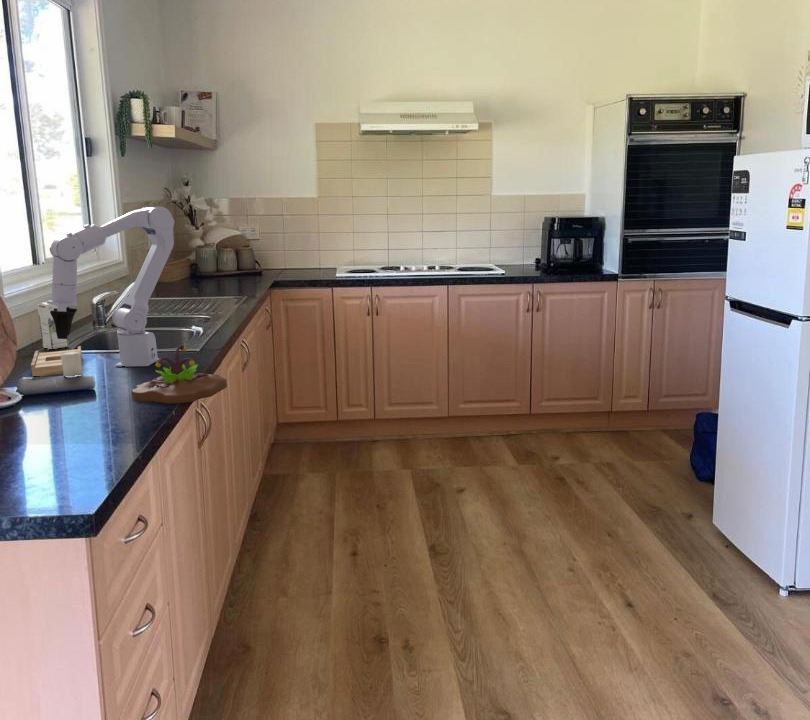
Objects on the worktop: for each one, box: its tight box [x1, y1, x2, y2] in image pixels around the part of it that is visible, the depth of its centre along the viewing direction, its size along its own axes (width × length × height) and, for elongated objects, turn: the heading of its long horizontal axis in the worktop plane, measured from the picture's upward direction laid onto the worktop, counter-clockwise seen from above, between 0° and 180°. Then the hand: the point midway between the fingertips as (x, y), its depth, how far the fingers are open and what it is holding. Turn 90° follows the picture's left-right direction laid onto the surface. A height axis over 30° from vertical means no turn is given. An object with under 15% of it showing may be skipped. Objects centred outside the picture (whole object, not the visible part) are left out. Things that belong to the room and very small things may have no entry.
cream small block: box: [61, 352, 84, 377], centre depth 201 cm, size 5×5×6 cm
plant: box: [130, 344, 228, 405], centre depth 181 cm, size 20×20×11 cm
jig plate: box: [30, 345, 83, 377], centre depth 213 cm, size 20×12×3 cm, turn 22°
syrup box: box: [36, 301, 70, 350], centre depth 238 cm, size 6×6×14 cm
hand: (63, 337), depth 200 cm, fingers open, 7 cm apart
